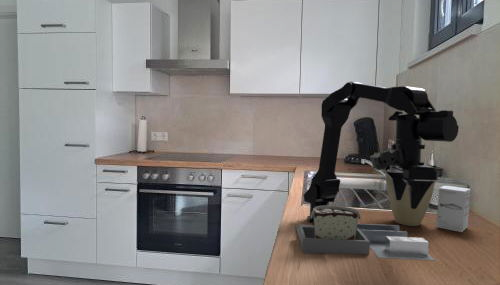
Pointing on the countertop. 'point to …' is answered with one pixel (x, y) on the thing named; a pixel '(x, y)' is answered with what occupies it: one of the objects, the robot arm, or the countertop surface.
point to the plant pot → (408, 205)
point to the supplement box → (453, 208)
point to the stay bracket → (380, 232)
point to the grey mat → (383, 253)
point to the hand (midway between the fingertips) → (405, 204)
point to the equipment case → (331, 242)
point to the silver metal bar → (406, 245)
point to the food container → (335, 222)
